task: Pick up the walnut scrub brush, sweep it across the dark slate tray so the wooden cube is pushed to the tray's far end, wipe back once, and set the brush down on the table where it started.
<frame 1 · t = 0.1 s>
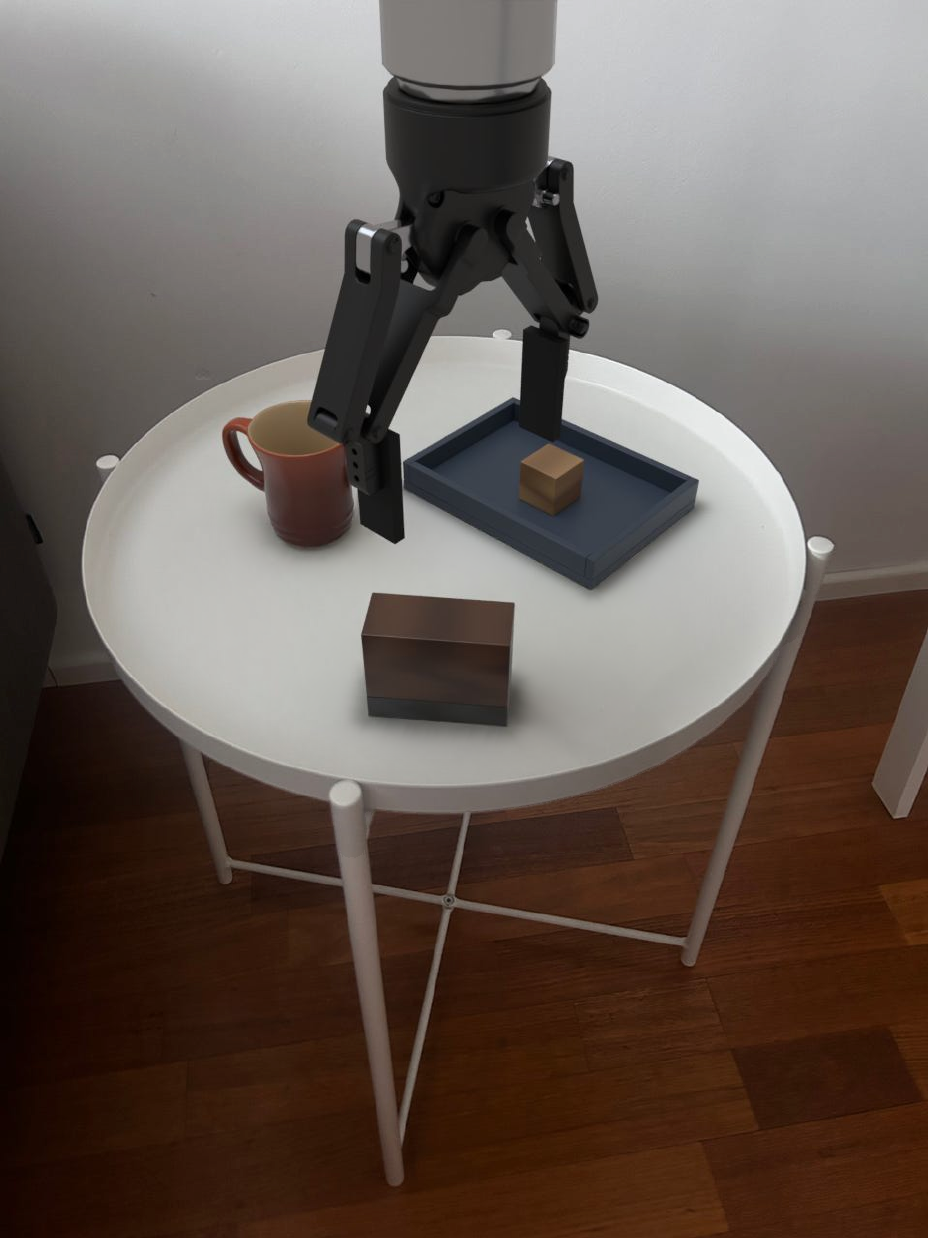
hand: (465, 479, 59), 20 cm above the table, tool pointing down, fingers open, 13 cm apart
wooden cube: (549, 497, 91), point 1 cm above the table, touching tray
tray: (547, 497, 92), on the table
mug: (297, 525, 90), on the table
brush: (440, 699, 74), on the table
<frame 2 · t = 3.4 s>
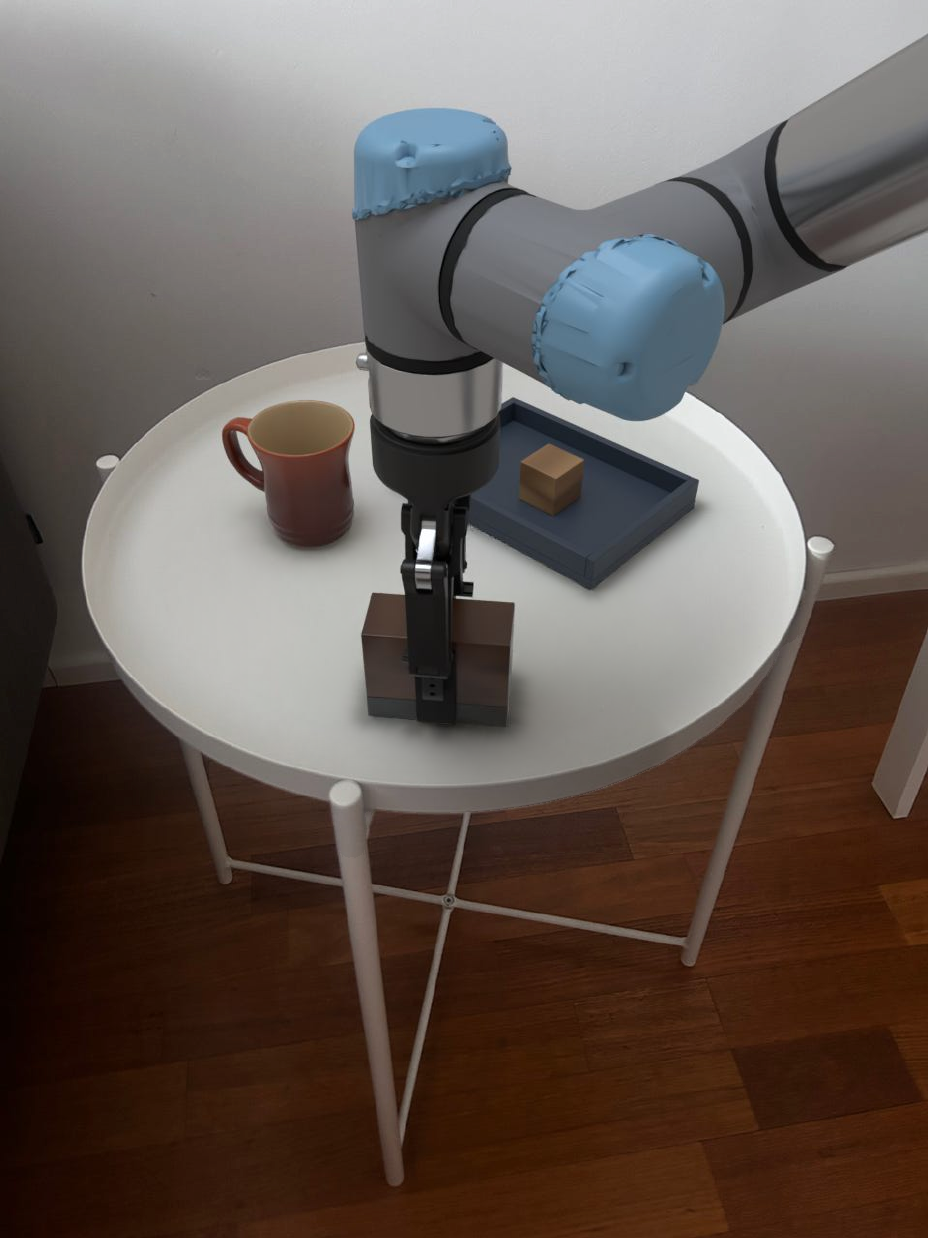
hand: (440, 692, 73), 1 cm above the table, tool pointing down, fingers closed on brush, 4 cm apart
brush: (440, 699, 74), on the table, touching gripper
everything else where it was.
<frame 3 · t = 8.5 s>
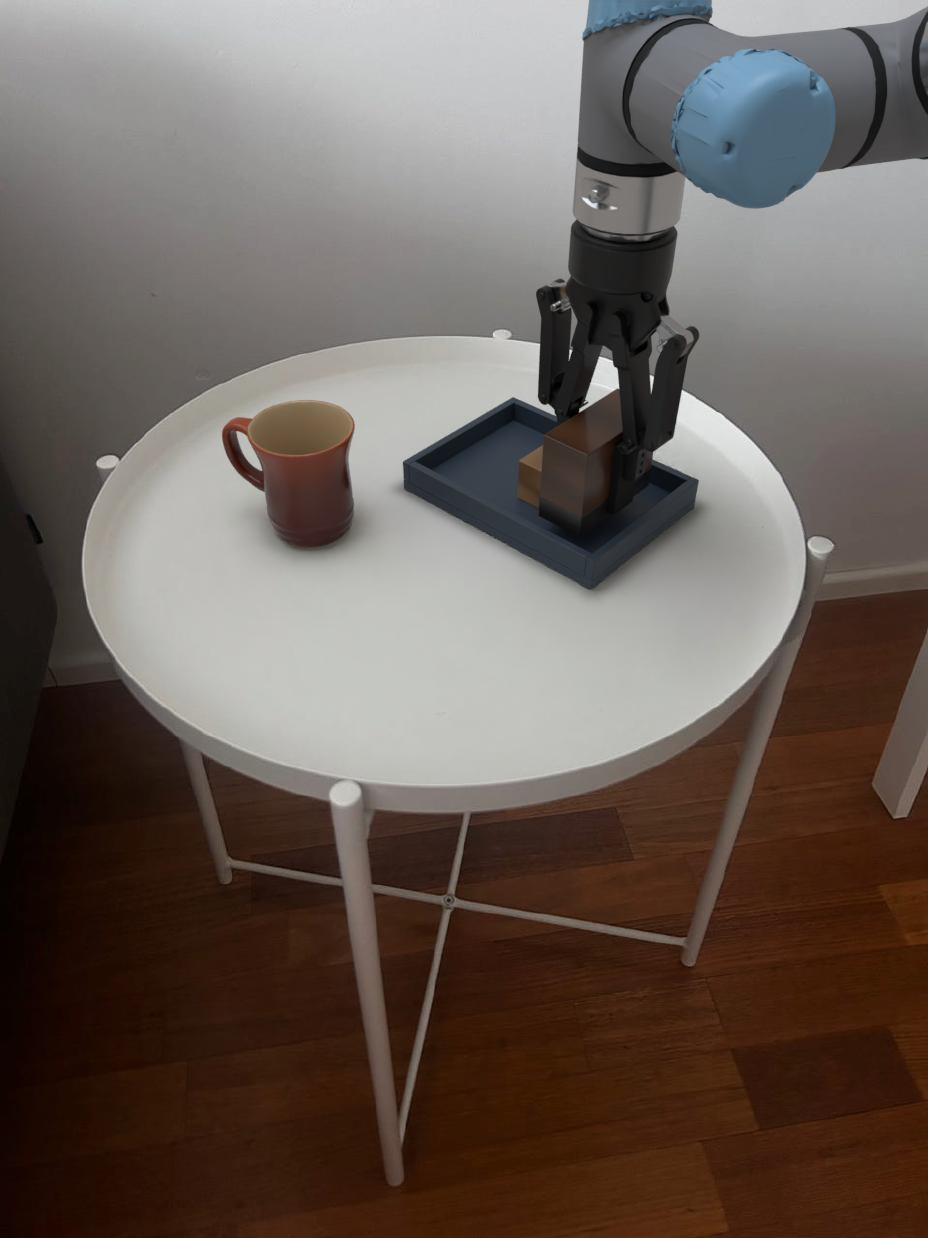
hand: (595, 494, 87), 4 cm above the table, tool pointing down, fingers closed on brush, 4 cm apart
wooden cube: (548, 496, 91), point 1 cm above the table, touching gripper, tray
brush: (594, 500, 87), point 3 cm above the table, touching gripper
everything else where it was.
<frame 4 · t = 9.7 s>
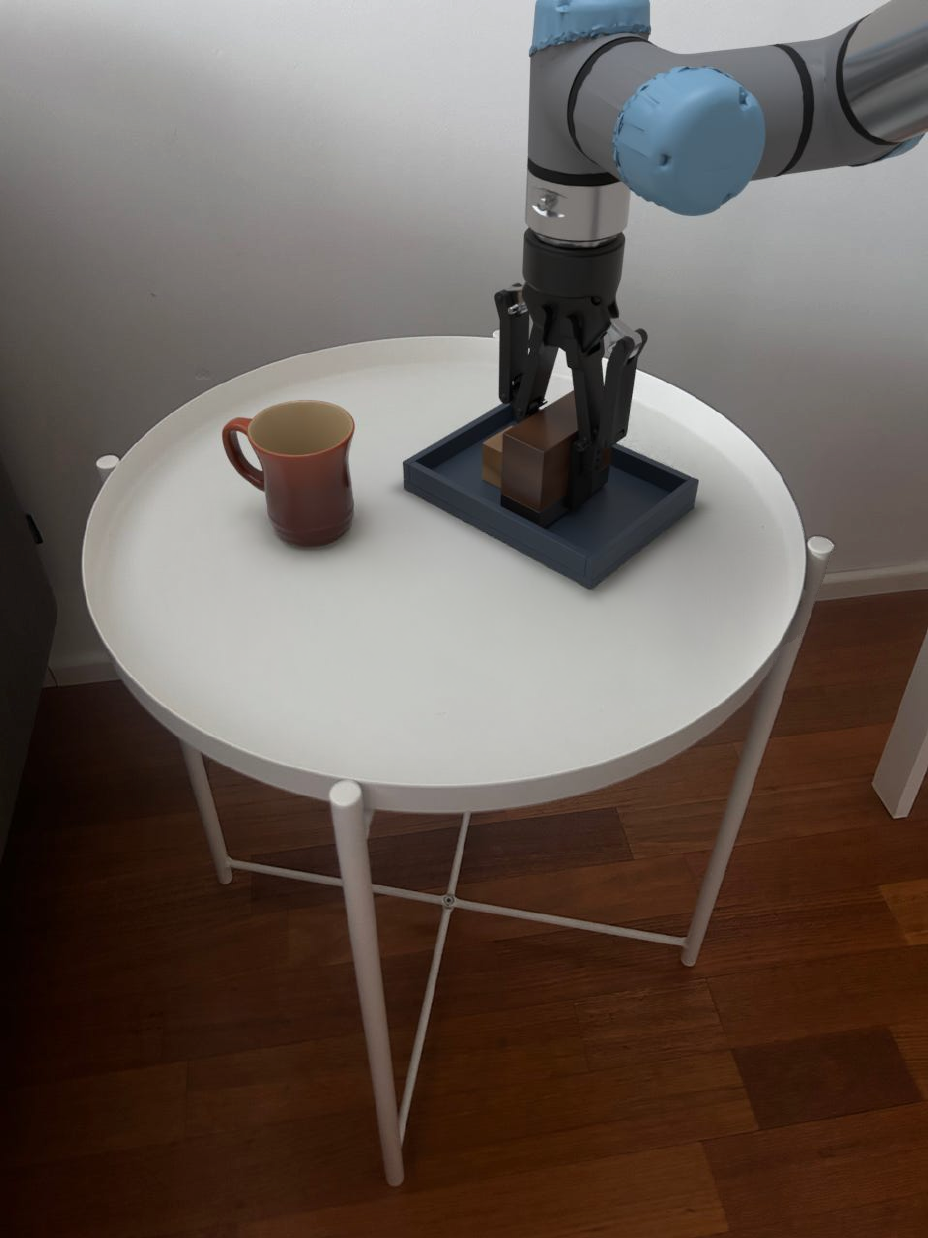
hand: (555, 490, 90), 2 cm above the table, tool pointing down, fingers closed on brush, 4 cm apart
wooden cube: (512, 478, 93), point 1 cm above the table, touching gripper
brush: (554, 496, 90), point 1 cm above the table, touching gripper
everything else where it was.
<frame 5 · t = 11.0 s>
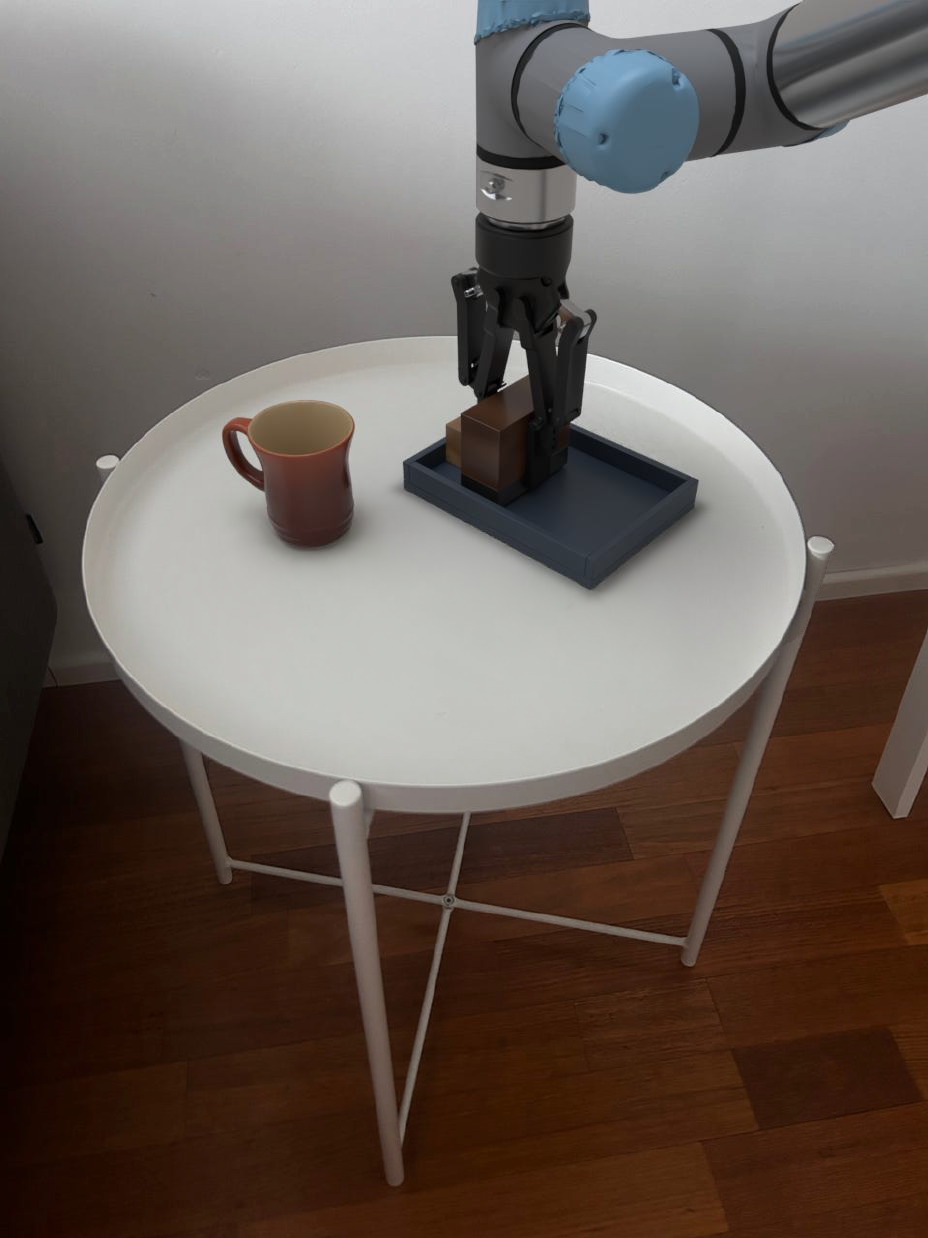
hand: (515, 470, 92), 2 cm above the table, tool pointing down, fingers closed on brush, 4 cm apart
wooden cube: (475, 460, 95), point 1 cm above the table, touching gripper, tray
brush: (515, 476, 93), point 1 cm above the table, touching gripper
everything else where it was.
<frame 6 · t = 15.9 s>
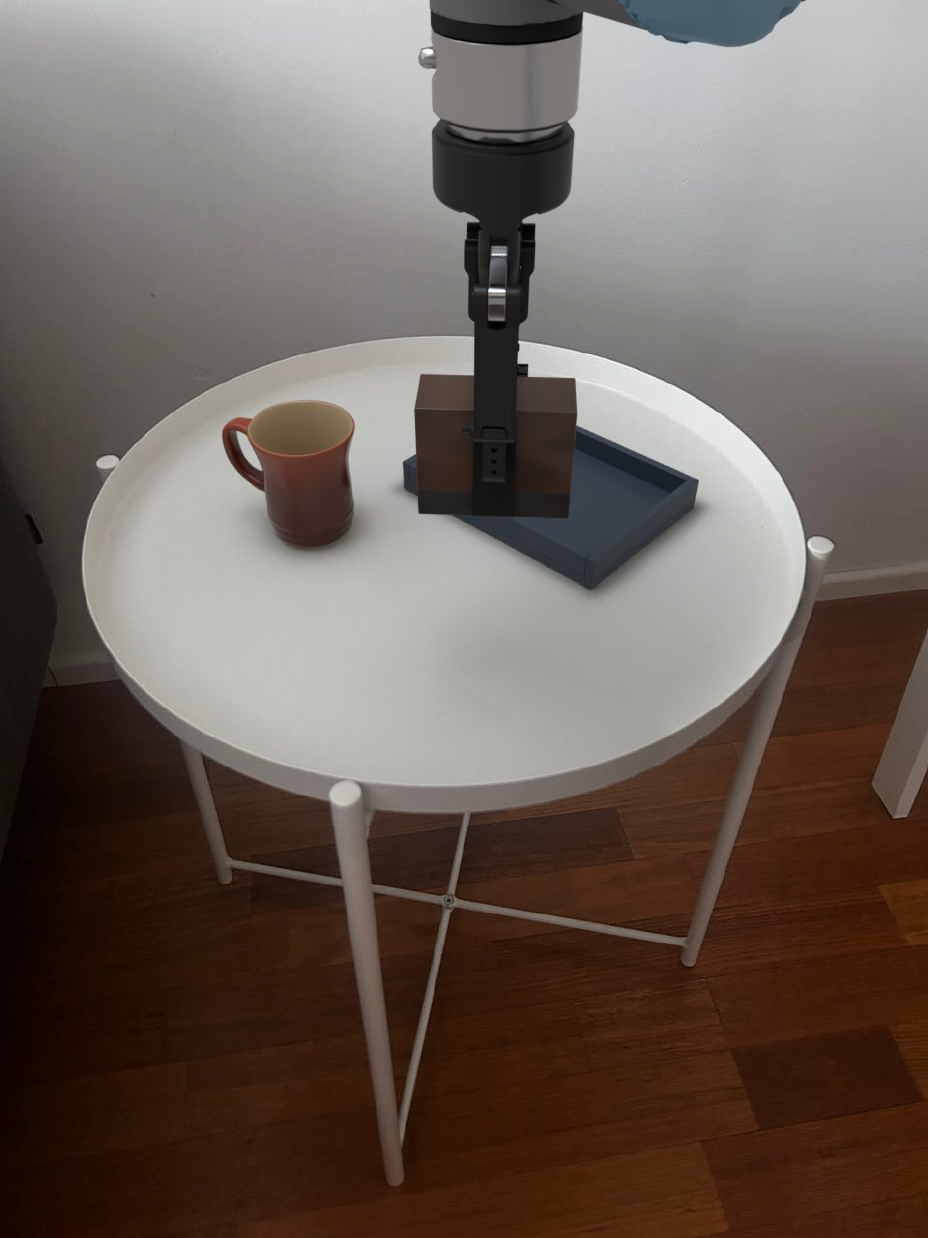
hand: (494, 489, 68), 15 cm above the table, tool pointing down, fingers closed on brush, 4 cm apart
wooden cube: (475, 460, 95), point 1 cm above the table, touching tray
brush: (494, 497, 69), point 14 cm above the table, touching gripper
everything else where it was.
when the fingers open (1 cm above the table, at t = 20.0 s): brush stays where it is, on the table.
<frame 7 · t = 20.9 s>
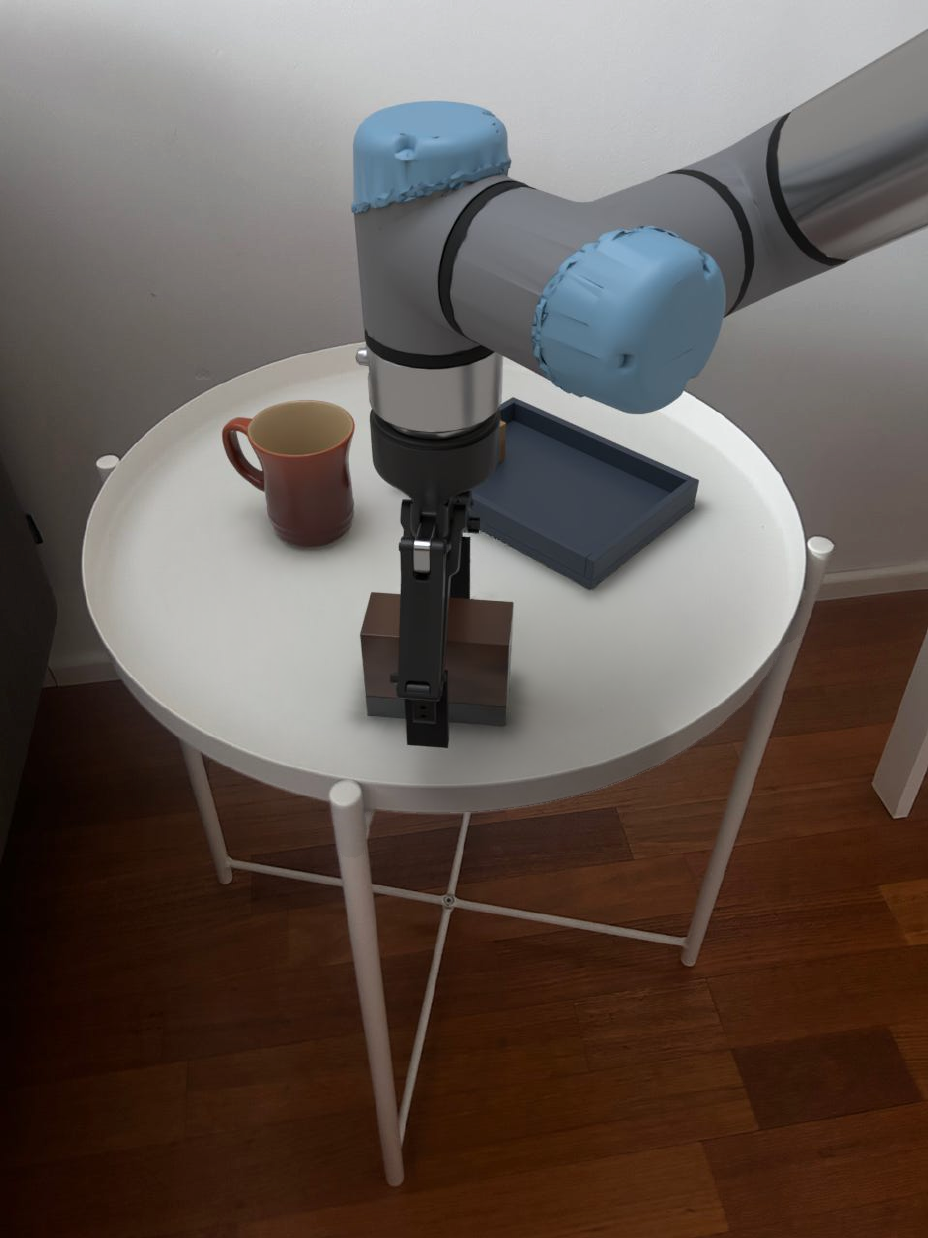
hand: (440, 670, 72), 3 cm above the table, tool pointing down, fingers open, 13 cm apart
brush: (439, 698, 74), on the table
everything else where it was.
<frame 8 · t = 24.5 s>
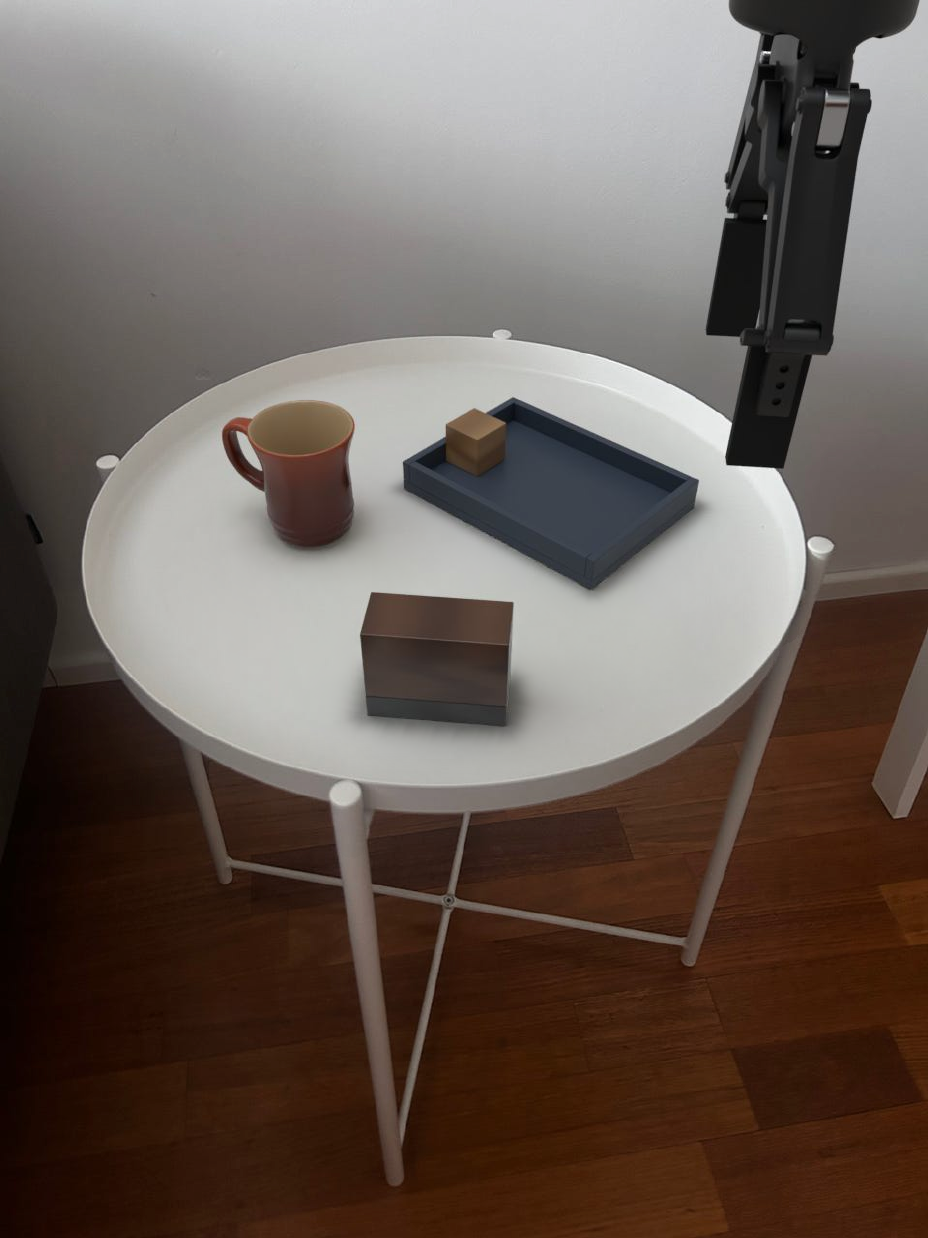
hand: (740, 392, 54), 27 cm above the table, tool pointing down, fingers open, 13 cm apart
nothing on the table moved.
at the end: wooden cube inside the target area in the tray (1.2 cm from its centre), point 1.0 cm above the tray's base; the gripper is holding nothing; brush touching table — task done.
